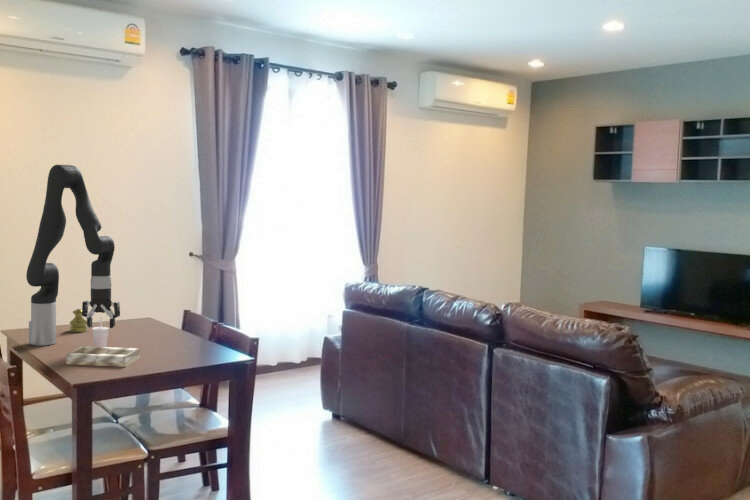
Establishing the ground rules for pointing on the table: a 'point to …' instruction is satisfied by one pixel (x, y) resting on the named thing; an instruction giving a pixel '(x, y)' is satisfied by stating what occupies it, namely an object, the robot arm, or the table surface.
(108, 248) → the robot arm
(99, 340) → the smoothie
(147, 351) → the table surface
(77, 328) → the olive green stacked toy
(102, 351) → the cream rectangular tray
